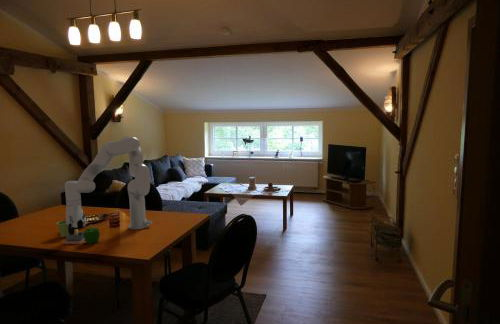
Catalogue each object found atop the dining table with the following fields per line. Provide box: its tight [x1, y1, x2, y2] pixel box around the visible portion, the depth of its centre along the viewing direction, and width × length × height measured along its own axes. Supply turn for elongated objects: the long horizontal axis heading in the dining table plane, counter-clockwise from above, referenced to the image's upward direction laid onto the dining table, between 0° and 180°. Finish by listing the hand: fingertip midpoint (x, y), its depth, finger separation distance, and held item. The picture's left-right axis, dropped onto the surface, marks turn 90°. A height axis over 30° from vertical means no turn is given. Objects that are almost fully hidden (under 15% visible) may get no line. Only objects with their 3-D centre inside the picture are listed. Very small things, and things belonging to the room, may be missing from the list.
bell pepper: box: [83, 224, 100, 245], centre depth 189 cm, size 8×8×10 cm
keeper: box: [62, 229, 86, 245], centre depth 192 cm, size 10×10×6 cm
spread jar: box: [73, 209, 87, 230], centre depth 216 cm, size 12×11×12 cm
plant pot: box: [56, 219, 73, 238], centre depth 201 cm, size 9×9×9 cm
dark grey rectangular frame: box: [65, 231, 84, 241], centre depth 192 cm, size 6×8×3 cm
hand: (76, 230), depth 192 cm, fingers open, 9 cm apart
